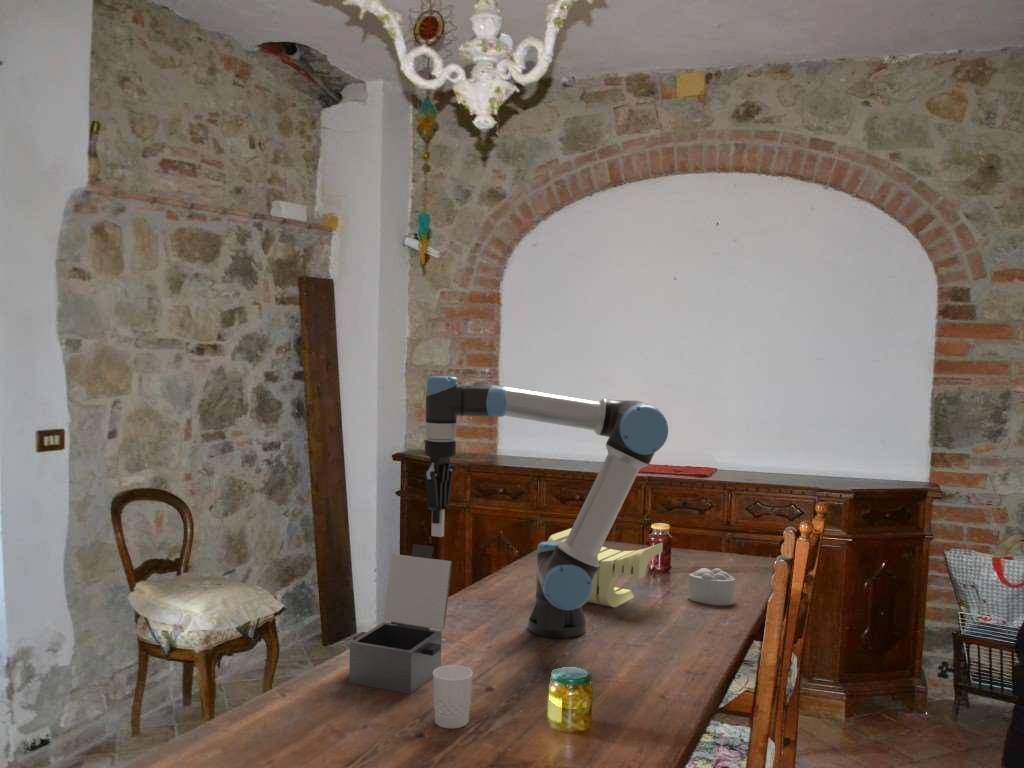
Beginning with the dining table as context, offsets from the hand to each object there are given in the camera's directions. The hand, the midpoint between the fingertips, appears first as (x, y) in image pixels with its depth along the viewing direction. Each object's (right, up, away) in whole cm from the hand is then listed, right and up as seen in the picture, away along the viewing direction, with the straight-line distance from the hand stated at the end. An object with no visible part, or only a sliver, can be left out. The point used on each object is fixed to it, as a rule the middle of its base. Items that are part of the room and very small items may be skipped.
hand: (437, 535), depth 217 cm
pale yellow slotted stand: (+45, -26, +44) cm, 68 cm away
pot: (-8, -28, -18) cm, 35 cm away
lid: (-4, -10, -10) cm, 15 cm away
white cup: (+6, -30, -40) cm, 51 cm away
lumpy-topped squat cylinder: (+78, -27, +47) cm, 95 cm away
